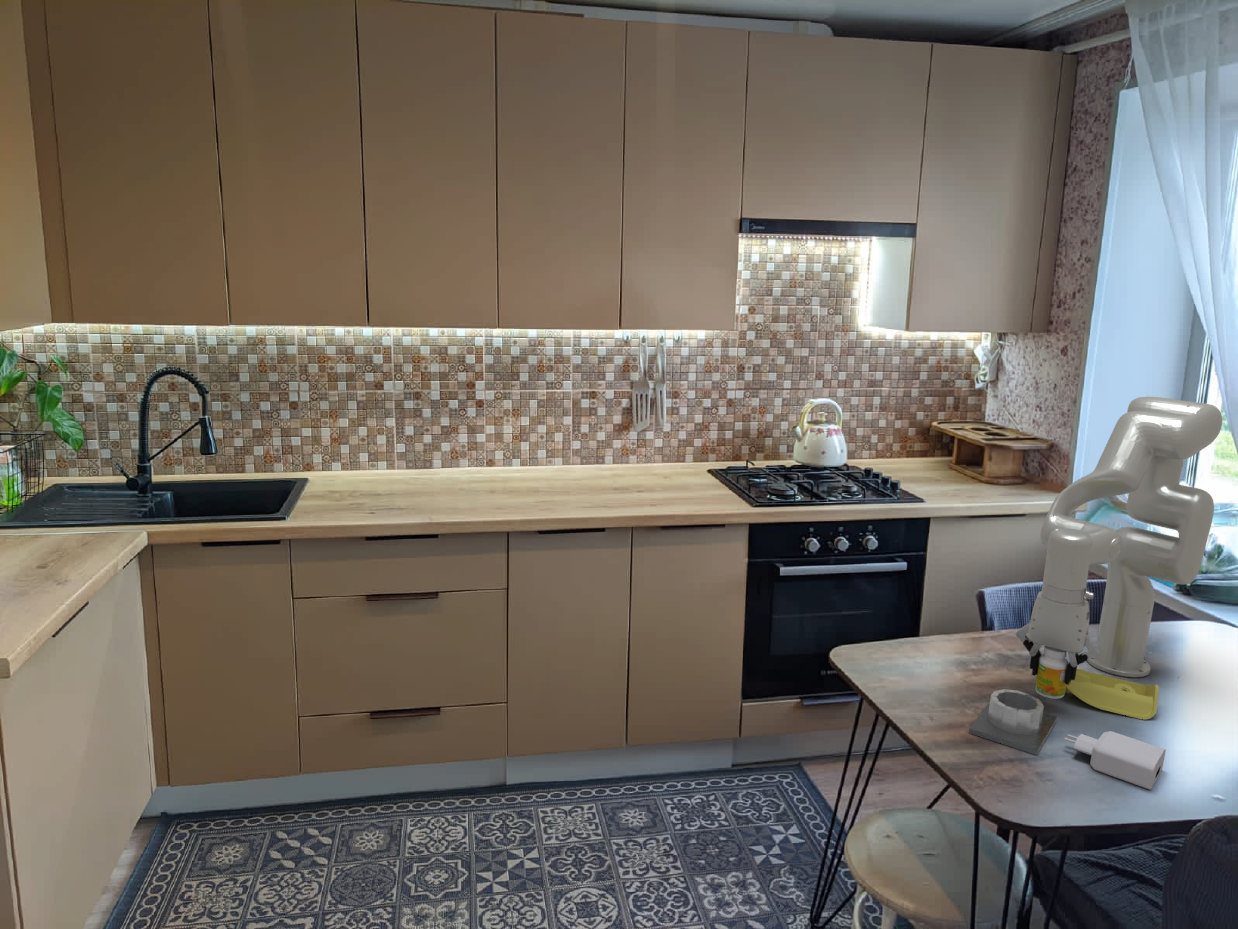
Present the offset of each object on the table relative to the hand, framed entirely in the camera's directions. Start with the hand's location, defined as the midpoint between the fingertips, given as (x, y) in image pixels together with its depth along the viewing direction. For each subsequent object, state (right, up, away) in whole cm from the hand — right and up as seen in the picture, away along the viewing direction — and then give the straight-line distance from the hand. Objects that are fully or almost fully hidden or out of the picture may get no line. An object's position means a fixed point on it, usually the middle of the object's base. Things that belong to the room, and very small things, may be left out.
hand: (1051, 676), depth 179 cm
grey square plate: (-11, -8, -7) cm, 15 cm away
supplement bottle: (0, -4, +1) cm, 4 cm away
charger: (+1, -12, -18) cm, 22 cm away
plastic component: (+13, -6, +6) cm, 15 cm away
